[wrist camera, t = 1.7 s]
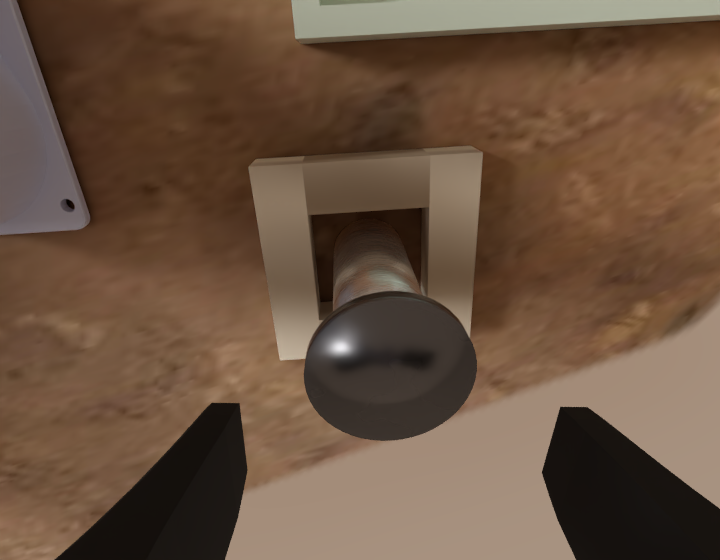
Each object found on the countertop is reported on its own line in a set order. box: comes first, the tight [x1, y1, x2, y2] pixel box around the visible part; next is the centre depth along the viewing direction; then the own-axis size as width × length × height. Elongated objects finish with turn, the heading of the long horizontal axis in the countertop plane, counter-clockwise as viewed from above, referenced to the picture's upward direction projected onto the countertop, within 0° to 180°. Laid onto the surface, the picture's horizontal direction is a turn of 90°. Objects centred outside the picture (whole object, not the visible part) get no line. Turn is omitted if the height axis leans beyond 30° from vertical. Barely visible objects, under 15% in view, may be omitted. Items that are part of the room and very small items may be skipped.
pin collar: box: [248, 146, 483, 360], centre depth 18 cm, size 8×8×2 cm
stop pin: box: [304, 219, 477, 441], centre depth 15 cm, size 4×4×8 cm
